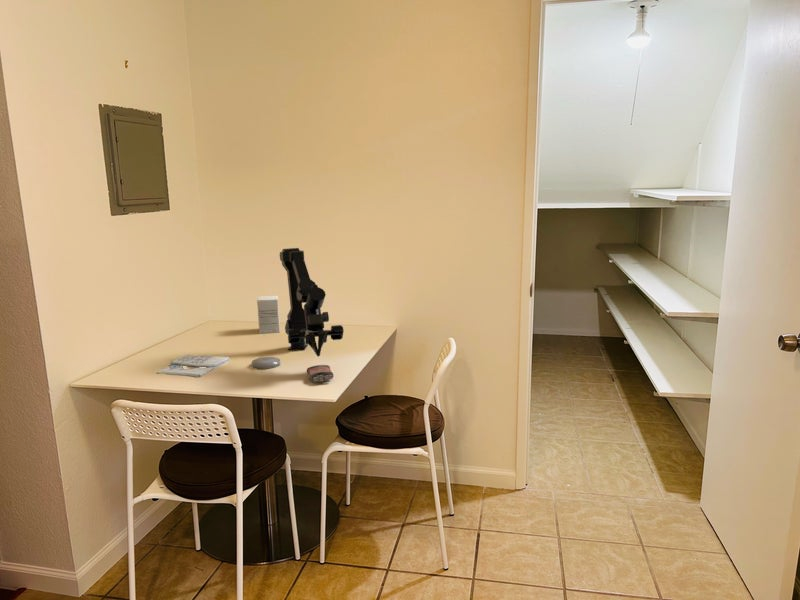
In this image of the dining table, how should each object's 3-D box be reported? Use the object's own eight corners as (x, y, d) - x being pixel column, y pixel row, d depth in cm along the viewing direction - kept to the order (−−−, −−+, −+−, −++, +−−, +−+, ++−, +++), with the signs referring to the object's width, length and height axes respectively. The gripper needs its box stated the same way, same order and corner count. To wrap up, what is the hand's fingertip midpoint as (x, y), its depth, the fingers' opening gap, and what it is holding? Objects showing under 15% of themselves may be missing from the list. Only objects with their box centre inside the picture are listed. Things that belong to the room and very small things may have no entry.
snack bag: (232, 361, 223) (231, 356, 222) (199, 379, 204) (198, 373, 203) (188, 358, 228) (187, 353, 228) (152, 375, 209) (151, 369, 209)
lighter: (306, 376, 204) (310, 385, 194) (306, 366, 203) (309, 375, 194) (330, 373, 206) (335, 382, 196) (329, 363, 205) (334, 372, 196)
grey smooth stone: (257, 360, 222) (256, 356, 221) (283, 360, 221) (283, 357, 221) (248, 369, 212) (247, 365, 212) (275, 369, 211) (275, 365, 211)
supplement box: (259, 328, 269) (257, 296, 266) (280, 327, 271) (278, 295, 268) (258, 333, 260) (256, 300, 257) (279, 332, 262) (277, 299, 259)
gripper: (286, 306, 201) (291, 346, 193) (341, 302, 206) (348, 341, 198) (286, 323, 210) (290, 362, 202) (339, 319, 215) (345, 357, 207)
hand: (318, 355), depth 202 cm, fingers closed
